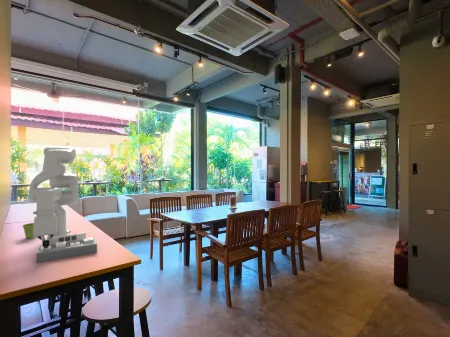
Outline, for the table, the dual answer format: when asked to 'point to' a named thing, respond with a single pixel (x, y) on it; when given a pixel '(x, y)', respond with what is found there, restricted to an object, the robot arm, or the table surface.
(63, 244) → the key
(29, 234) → the plant pot
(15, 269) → the table surface
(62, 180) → the robot arm
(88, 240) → the key
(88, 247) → the keyboard
